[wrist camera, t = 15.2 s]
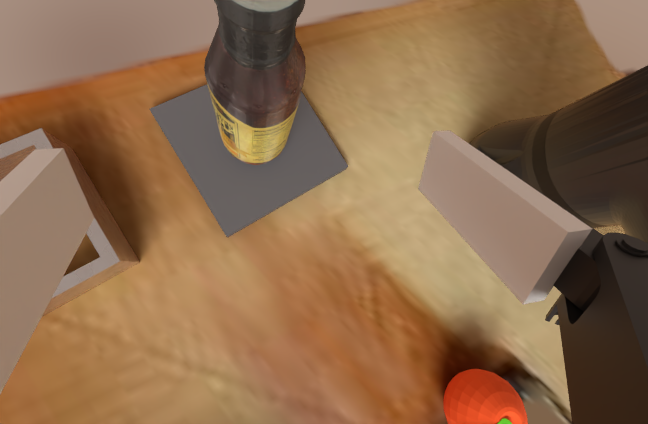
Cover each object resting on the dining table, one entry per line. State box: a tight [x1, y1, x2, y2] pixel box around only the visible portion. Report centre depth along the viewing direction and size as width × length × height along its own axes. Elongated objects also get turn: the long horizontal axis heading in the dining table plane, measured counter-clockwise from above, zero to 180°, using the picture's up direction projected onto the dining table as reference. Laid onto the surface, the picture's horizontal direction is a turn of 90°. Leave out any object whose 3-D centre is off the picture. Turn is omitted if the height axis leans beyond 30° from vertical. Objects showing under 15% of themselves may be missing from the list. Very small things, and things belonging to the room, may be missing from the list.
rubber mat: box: [150, 85, 348, 237], centre depth 33 cm, size 14×14×1 cm
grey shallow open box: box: [0, 128, 140, 316], centre depth 26 cm, size 11×12×4 cm
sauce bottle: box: [204, 0, 305, 165], centre depth 22 cm, size 7×6×20 cm
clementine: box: [443, 369, 528, 424], centre depth 30 cm, size 8×7×7 cm
